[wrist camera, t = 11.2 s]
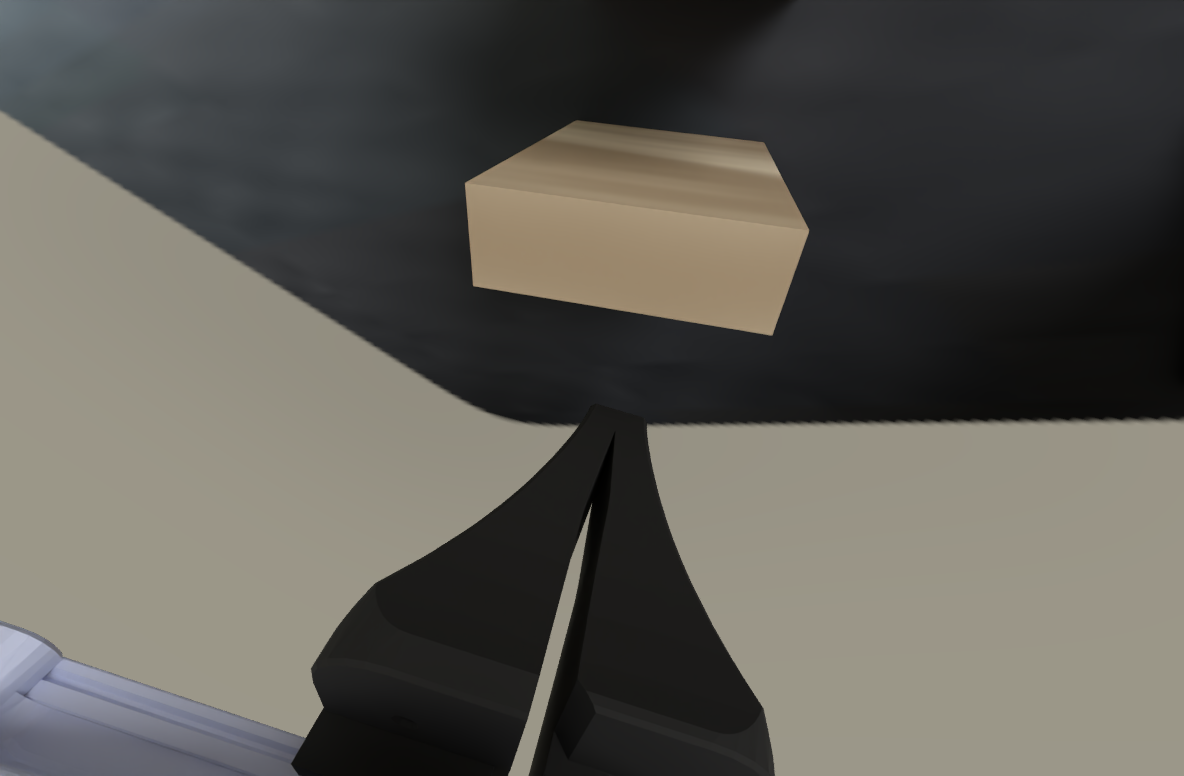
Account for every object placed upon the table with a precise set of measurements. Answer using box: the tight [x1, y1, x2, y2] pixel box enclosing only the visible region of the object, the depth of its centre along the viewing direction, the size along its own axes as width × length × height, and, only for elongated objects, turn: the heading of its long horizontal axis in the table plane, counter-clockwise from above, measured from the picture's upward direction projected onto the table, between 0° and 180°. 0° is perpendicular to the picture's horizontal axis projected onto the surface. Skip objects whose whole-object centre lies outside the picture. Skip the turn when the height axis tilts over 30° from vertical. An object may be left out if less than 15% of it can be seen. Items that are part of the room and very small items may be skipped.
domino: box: [465, 120, 809, 335], centre depth 10 cm, size 2×5×7 cm, turn 86°
